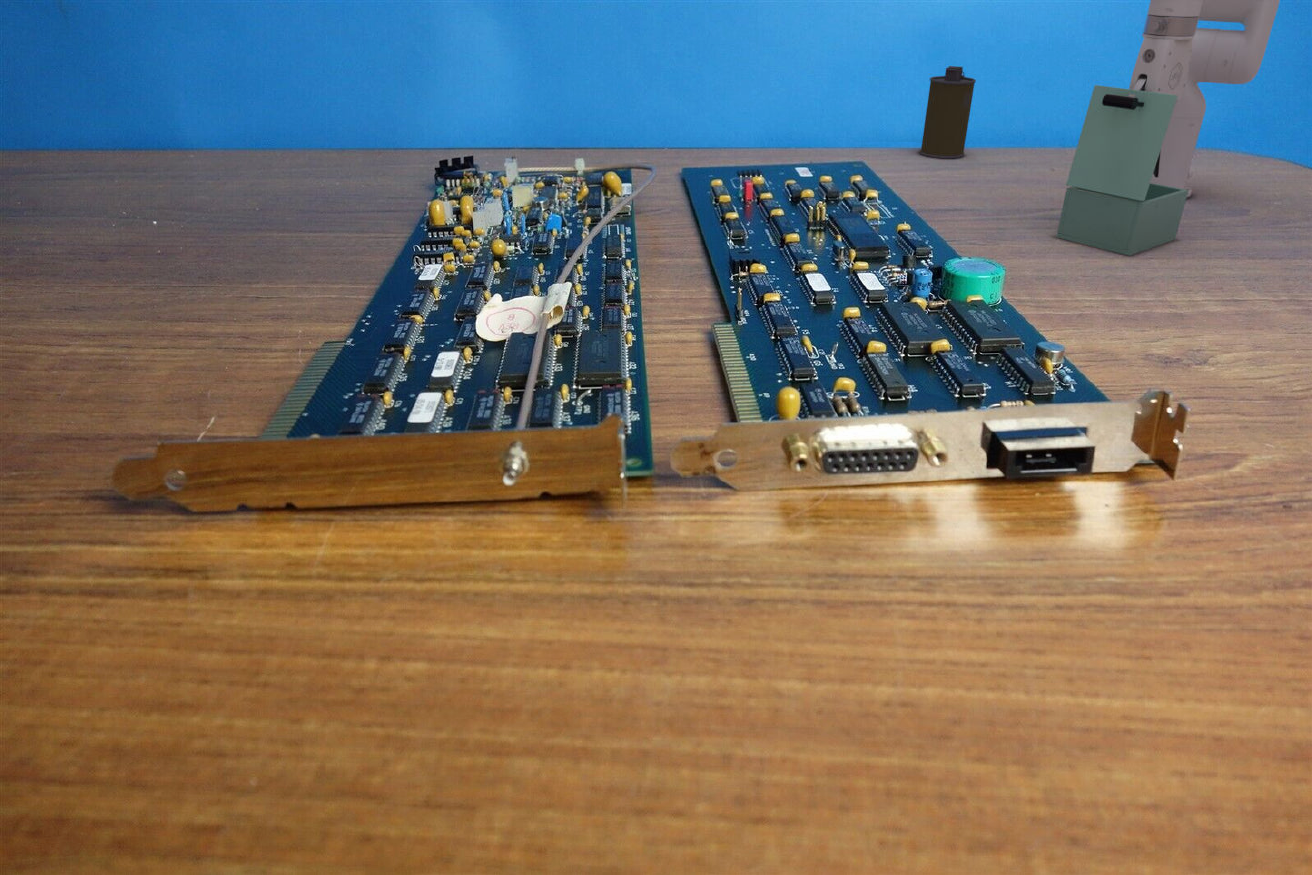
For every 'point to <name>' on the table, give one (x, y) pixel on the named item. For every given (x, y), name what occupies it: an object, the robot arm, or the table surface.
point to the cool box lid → (1121, 141)
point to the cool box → (1122, 218)
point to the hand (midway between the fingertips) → (1141, 142)
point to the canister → (947, 114)
